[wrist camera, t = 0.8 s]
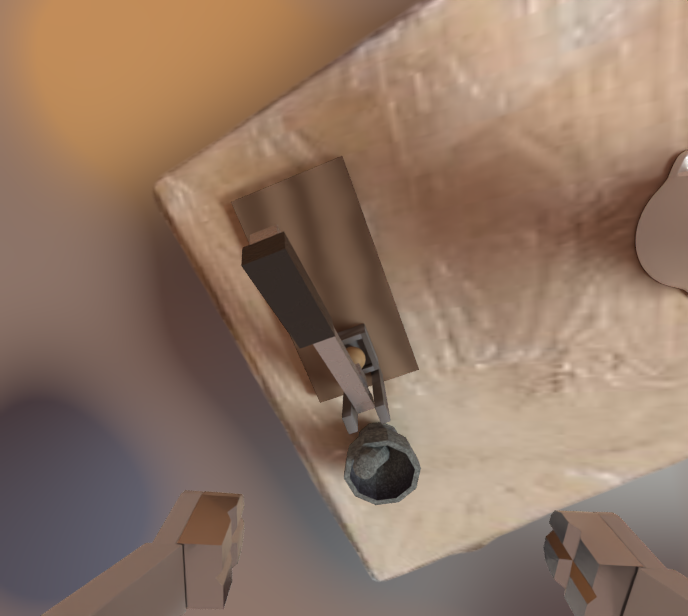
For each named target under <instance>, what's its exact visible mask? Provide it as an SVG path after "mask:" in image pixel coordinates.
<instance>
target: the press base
mask: <svg viewBox="0 0 688 616" xmlns="http://www.w3.org/2000/svg"><path fill="white" fill-rule="evenodd" d="M231 203H232V205H233V208H234V210H235V212H236V214H237V217H238V219H239V221H240V223H241V226H242V228H243V230H244V232H245V235H246V237H247V239H248V241H249V244H250V235H251V234H253V233H256V232H258V231H261V230H263V229H266V228H268V227H271V226H273V225H276V224H277V226H278V228H279V229H280V231H281V232H283V231H284V232H285V234H286V236H287V237H288V239H289V241H290V243H291V245H292V247H293V248H294V250H295V252H296V254H297V256H298V257H299V259H300V261H301V263H302V265H303V267H304V268H305V270H306V272H307V274H308V276H309V278H310V279H311V281H312V283H313V285H314V287H315V288H316V290H317V292H318V294H319V296H320V298H321V299H322V301H323V303H324V305H325V307H326V308H327V310H328V312H329V314H330V316H331V318H332V322H333V326H334V328H335V330H336V332H337V333H338V335H339V337H340V339H341V341H342V342H343V344H344V346H345V348H348V347H358V348H360V349H361V350H362V351H363V353H364V355H365V364H364V366H363V367H362V370H363V372H364V374H365V376H366V380H367V384H368V386H371V385H373V395H374V404H375V409H376V412H377V414H378V417H379V419H380V422H381V424H383V423H386V422H389V421H390V415H389V409H388V403H387V397H386V392H385V386H384V381H386V380H389V379H392V378H395V377H398V376H401V375H404V374H407V373H410V372H413V371H416V370H419V368H418V365H417V363H416V360H415V357H414V354H413V352H412V349H411V346H410V343H409V340H408V338H407V335H406V332H405V329H404V327H403V324H402V321H401V318H400V315H399V313H398V310H397V307H396V304H395V302H394V299H393V296H392V293H391V290H390V288H389V285H388V282H387V279H386V277H385V274H384V271H383V268H382V265H381V263H380V260H379V257H378V254H377V252H376V249H375V246H374V243H373V240H372V238H371V235H370V232H369V229H368V227H367V224H366V221H365V218H364V215H363V213H362V210H361V207H360V204H359V202H358V199H357V196H356V193H355V191H354V188H353V185H352V182H351V179H350V177H349V174H348V171H347V168H346V166H345V163H344V160H343V157H342V156H341V157H338V158H336V159H334V160H331V161H329V162H326V163H324V164H322V165H319V166H317V167H314V168H312V169H310V170H307V171H305V172H302V173H300V174H298V175H295V176H293V177H290V178H288V179H286V180H283V181H281V182H278V183H276V184H274V185H271V186H269V187H266V188H264V189H262V190H259V191H257V192H254V193H252V194H250V195H247V196H245V197H242V198H240V199H238V200H235V201H233V202H231ZM290 336H291V335H290ZM291 338H292V337H291ZM292 340H293V338H292ZM293 343H294V345H295V347H296V349H297V352H298V354H299V356H300V358H301V361H302V363H303V365H304V367H305V370H306V372H307V374H308V376H309V379H310V381H311V383H312V385H313V388H314V390H315V392H316V394H317V397H318V399H319V401H320V403H321V402H324V401H327V400H330V399H333V398H336V397H339V396H341V395H343V410H342V419H343V422H344V424H345V426H346V429H347V431H348V433H349V434H351V433H355V432H358V412H357V411H356V409H355V408H354V406H353V405H352V403H351V402H350V400H349V399H348V397H347V396H346V394H345V392H344V391H343V389H342V388H341V386H340V385H339V383H338V382H337V380H336V379H335V377H334V376H333V374H332V373H331V371H330V370H329V368H328V367H327V365H326V363H325V362H324V360H323V359H322V357H321V356H320V354H319V353H318V351H317V350H316V348H315V347H314V345H313V344H312V345H309V346H306V347H304V348H301V349H300V348H299V347H298V345H297V344H296V342H295V341H294V340H293Z"/></svg>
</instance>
